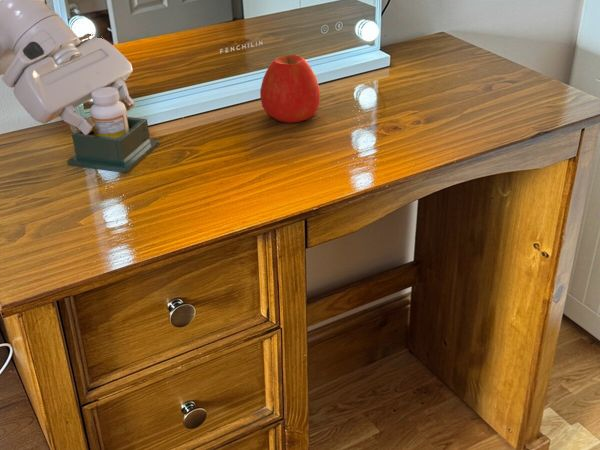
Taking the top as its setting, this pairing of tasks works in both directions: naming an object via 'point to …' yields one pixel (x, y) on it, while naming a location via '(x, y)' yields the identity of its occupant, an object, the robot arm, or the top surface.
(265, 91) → the apple
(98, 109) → the supplement bottle
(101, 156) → the bottle holder
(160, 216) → the top surface
